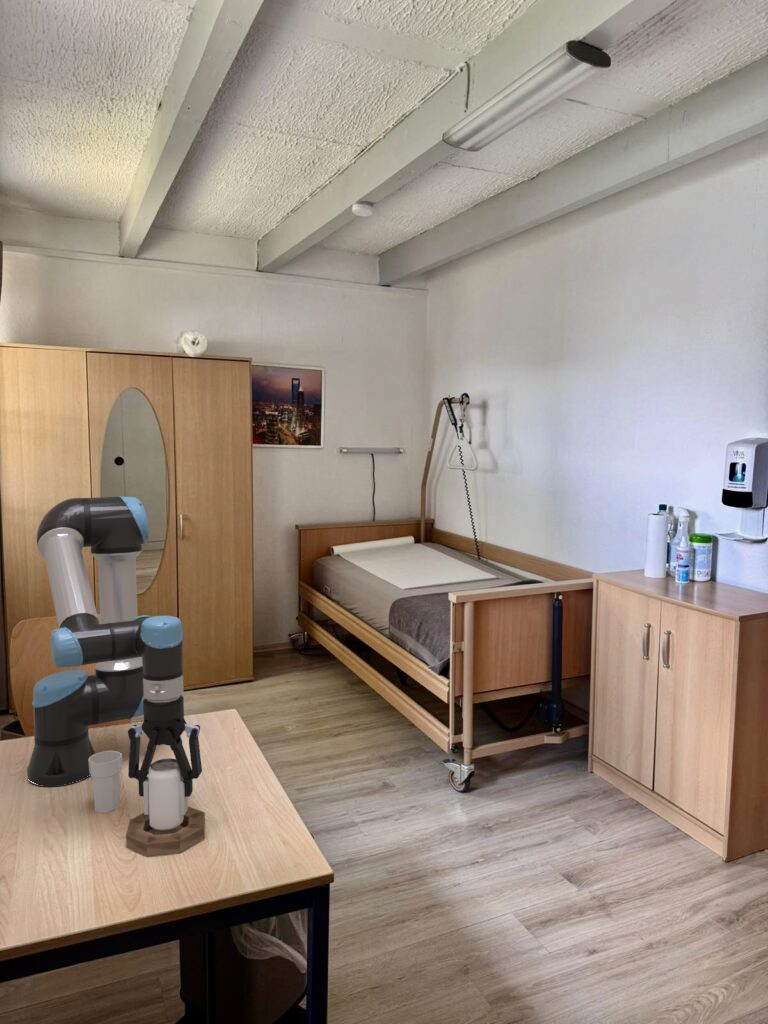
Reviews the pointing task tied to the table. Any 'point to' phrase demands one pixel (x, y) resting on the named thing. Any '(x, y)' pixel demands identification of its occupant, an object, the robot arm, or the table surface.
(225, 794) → the table surface
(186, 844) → the brown octagonal frame
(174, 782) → the can
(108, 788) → the cup
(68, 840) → the table surface
